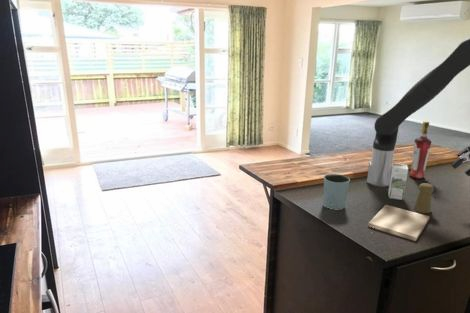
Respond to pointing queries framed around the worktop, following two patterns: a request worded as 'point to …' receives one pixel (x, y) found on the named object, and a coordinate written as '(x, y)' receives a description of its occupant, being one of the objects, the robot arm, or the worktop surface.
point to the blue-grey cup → (335, 190)
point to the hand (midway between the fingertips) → (459, 170)
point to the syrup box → (397, 181)
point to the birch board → (399, 222)
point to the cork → (424, 198)
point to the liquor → (420, 153)
